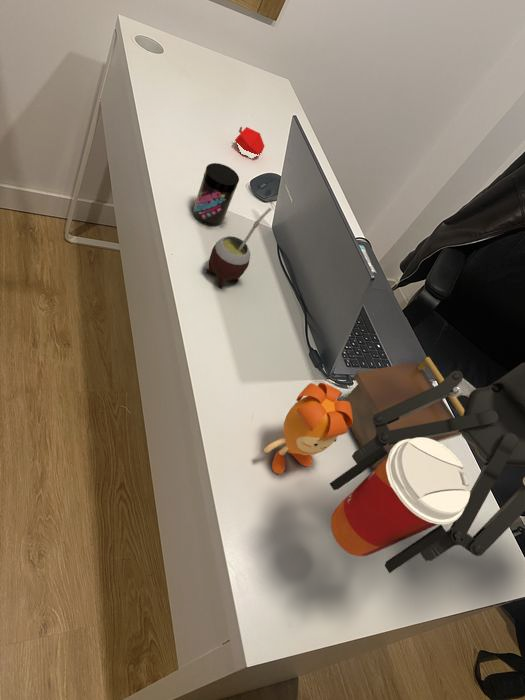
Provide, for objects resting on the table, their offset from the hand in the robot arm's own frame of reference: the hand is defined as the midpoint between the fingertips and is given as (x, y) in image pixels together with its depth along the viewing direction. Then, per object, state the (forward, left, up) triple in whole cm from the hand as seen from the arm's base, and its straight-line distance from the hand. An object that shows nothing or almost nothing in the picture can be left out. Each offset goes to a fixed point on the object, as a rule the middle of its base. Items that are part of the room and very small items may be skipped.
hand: (359, 525), depth 49 cm
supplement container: (+70, -15, -20) cm, 74 cm away
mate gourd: (+53, -12, -20) cm, 58 cm away
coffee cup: (+1, -3, -6) cm, 7 cm away
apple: (+94, -35, -20) cm, 102 cm away
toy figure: (+16, -8, -20) cm, 27 cm away
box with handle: (+16, -28, -20) cm, 38 cm away
